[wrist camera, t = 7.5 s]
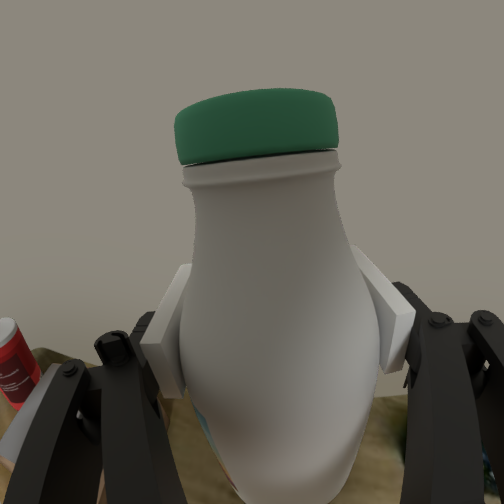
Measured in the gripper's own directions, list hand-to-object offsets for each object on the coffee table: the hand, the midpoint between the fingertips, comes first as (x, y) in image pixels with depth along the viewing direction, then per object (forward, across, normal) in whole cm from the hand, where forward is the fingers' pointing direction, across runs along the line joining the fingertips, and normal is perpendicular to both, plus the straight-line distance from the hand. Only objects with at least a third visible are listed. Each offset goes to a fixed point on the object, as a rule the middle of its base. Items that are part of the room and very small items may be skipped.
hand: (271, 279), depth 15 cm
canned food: (+4, -34, -18) cm, 38 cm away
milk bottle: (-5, 0, -12) cm, 13 cm away
